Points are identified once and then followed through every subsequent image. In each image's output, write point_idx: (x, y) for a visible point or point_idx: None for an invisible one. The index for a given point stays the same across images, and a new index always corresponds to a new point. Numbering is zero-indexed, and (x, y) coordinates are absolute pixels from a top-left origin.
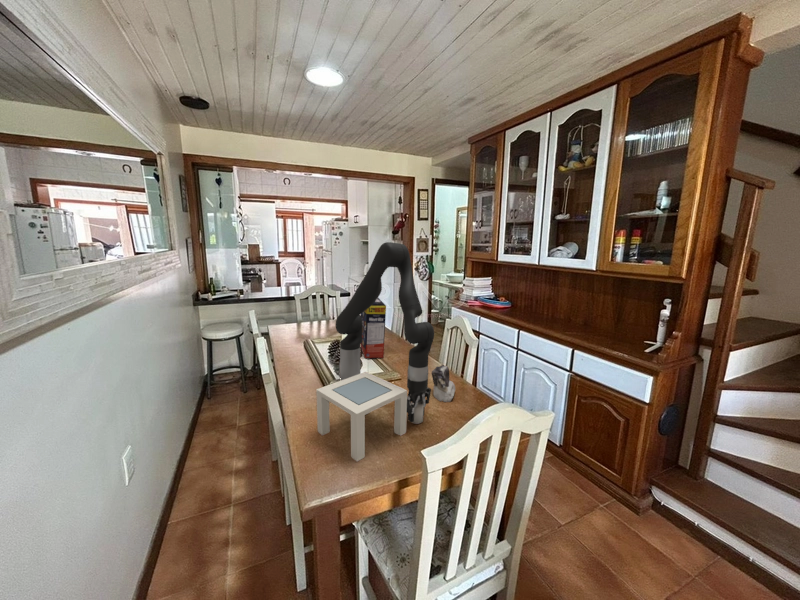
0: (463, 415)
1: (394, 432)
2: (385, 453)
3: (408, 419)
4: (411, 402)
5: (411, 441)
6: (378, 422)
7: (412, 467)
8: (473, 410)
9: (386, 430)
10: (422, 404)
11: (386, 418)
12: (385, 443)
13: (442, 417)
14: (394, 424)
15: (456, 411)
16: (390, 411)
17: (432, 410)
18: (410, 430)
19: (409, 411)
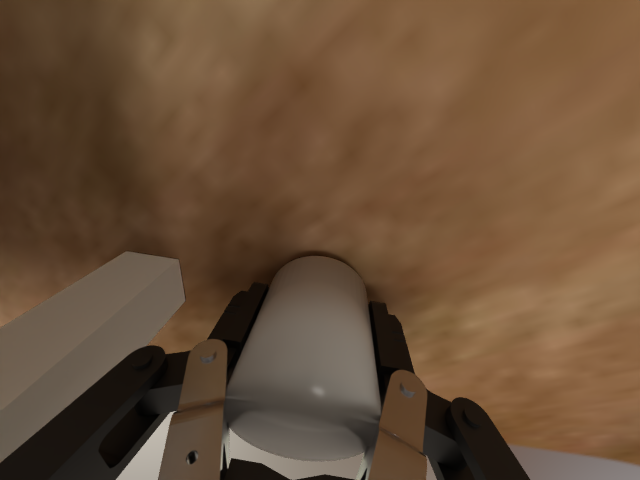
0: (519, 432)
1: (126, 254)
2: (5, 306)
3: (236, 300)
4: (310, 371)
5: (160, 346)
6: (83, 67)
7: None
8: (596, 451)
9: (93, 201)
10: (351, 451)
11: (182, 84)
12: (33, 268)
13: (448, 376)
14: (71, 287)
15: (554, 406)
16: (304, 15)
17: (512, 312)
18: (218, 308)
19: (149, 414)
